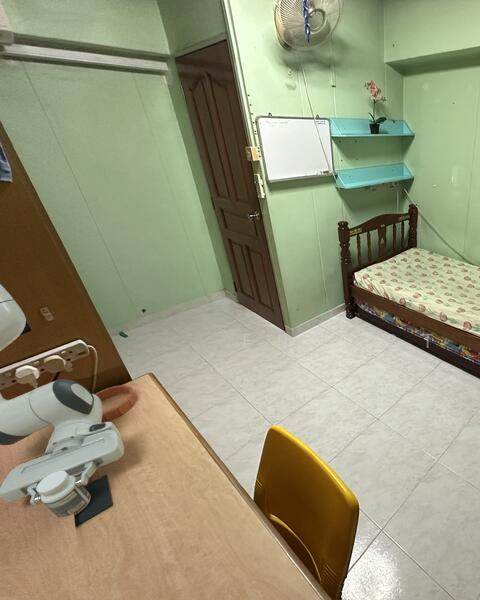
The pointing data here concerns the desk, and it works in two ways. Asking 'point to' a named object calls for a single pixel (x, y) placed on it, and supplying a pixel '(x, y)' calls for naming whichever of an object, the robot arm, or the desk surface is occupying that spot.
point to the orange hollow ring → (122, 407)
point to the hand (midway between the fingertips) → (59, 493)
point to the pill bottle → (63, 494)
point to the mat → (95, 500)
